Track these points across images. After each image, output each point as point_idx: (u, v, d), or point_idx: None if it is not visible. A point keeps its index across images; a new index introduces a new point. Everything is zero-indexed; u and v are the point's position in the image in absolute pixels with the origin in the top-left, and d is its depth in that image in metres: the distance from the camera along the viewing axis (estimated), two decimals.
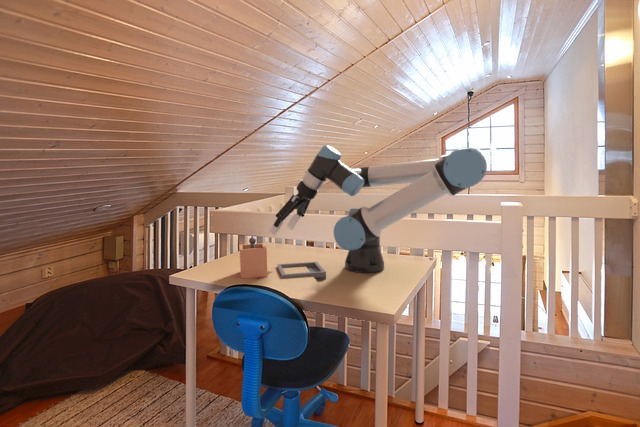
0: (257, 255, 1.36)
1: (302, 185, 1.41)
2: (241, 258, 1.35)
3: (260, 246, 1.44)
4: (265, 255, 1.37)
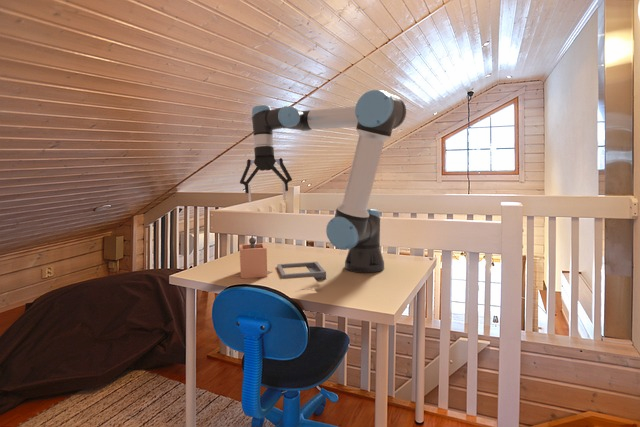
0: (257, 255, 1.36)
1: None
2: (241, 258, 1.35)
3: (260, 246, 1.44)
4: (265, 255, 1.37)
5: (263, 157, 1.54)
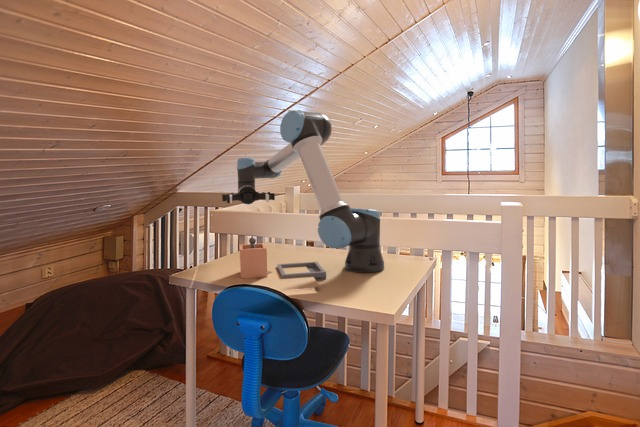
0: (257, 255, 1.36)
1: None
2: (241, 258, 1.35)
3: (260, 246, 1.44)
4: (265, 255, 1.37)
5: (246, 192, 1.64)
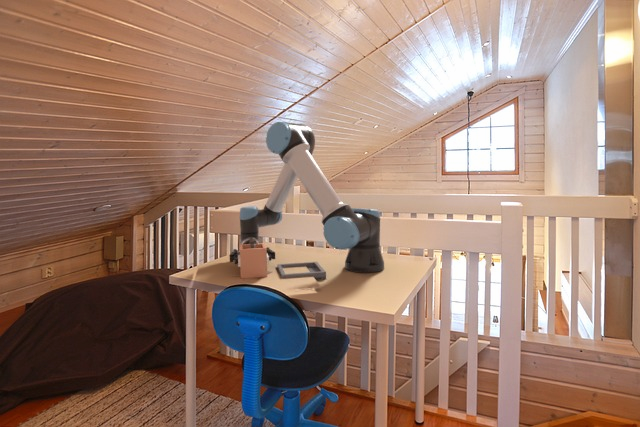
0: (257, 255, 1.36)
1: None
2: (241, 258, 1.35)
3: (260, 246, 1.44)
4: (265, 255, 1.37)
5: None
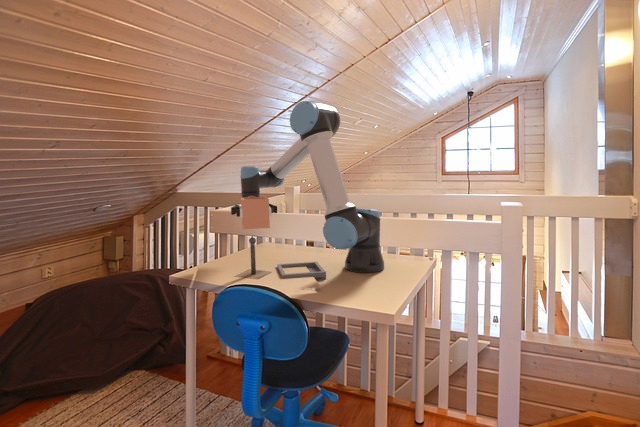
0: (259, 206, 1.35)
1: None
2: (243, 208, 1.34)
3: None
4: (267, 206, 1.35)
5: None
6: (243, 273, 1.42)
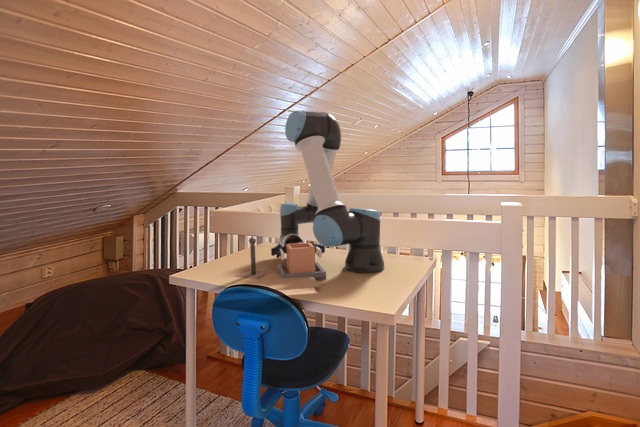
0: (306, 254, 1.40)
1: None
2: (290, 257, 1.39)
3: (306, 245, 1.48)
4: (313, 254, 1.41)
5: None
6: (243, 273, 1.42)
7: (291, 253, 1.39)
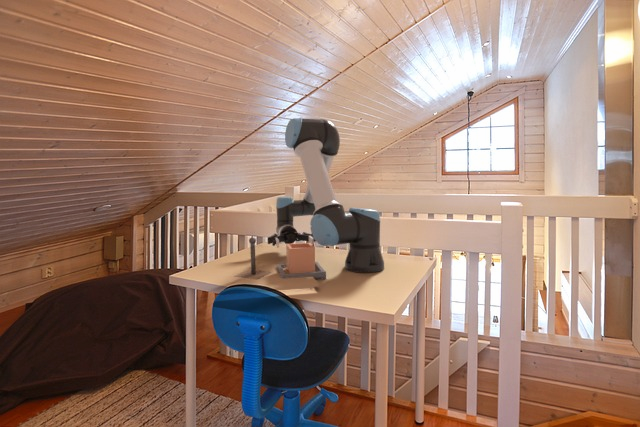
0: (306, 254, 1.40)
1: None
2: (290, 257, 1.39)
3: (306, 245, 1.48)
4: (313, 254, 1.41)
5: None
6: (243, 273, 1.42)
7: (291, 253, 1.39)
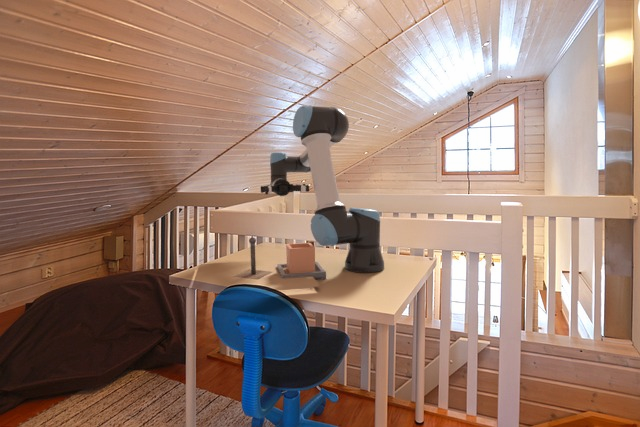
0: (306, 254, 1.40)
1: None
2: (290, 257, 1.39)
3: (306, 245, 1.48)
4: (313, 254, 1.41)
5: None
6: (243, 273, 1.42)
7: (291, 253, 1.39)
